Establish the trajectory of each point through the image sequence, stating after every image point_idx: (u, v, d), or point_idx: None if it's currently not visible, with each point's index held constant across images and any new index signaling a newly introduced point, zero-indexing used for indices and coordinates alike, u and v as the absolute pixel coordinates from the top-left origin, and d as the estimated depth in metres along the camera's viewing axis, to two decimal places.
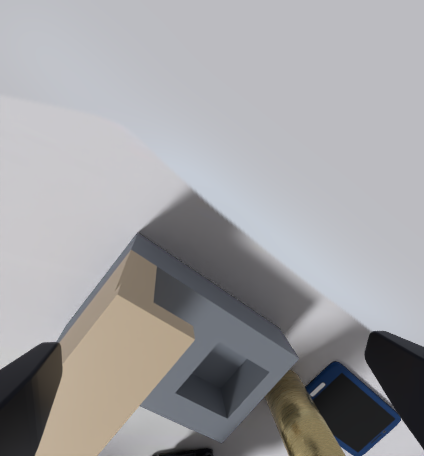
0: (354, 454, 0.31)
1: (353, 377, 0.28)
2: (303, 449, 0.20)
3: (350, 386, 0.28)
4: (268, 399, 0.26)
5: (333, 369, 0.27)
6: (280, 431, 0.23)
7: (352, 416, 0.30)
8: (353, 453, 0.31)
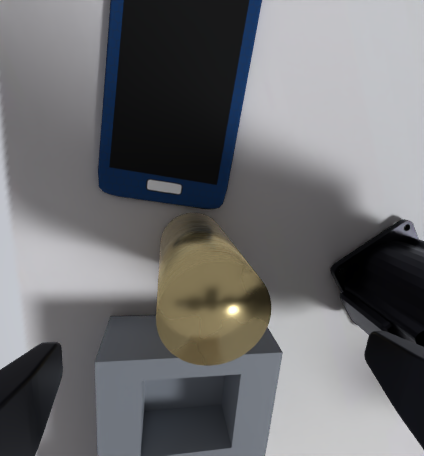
0: None
1: (103, 134, 0.14)
2: None
3: (123, 124, 0.14)
4: None
5: (113, 188, 0.15)
6: None
7: (179, 61, 0.14)
8: None
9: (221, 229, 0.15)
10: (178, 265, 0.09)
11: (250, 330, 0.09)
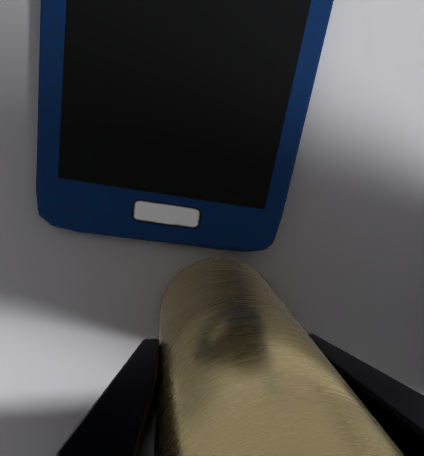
0: None
1: (43, 110, 0.07)
2: None
3: (84, 91, 0.07)
4: None
5: (69, 218, 0.08)
6: None
7: None
8: None
9: None
10: None
11: None
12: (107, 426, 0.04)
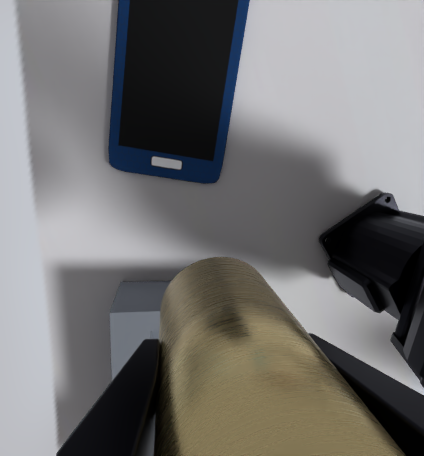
0: None
1: (113, 115, 0.16)
2: None
3: (130, 107, 0.16)
4: None
5: (122, 164, 0.17)
6: None
7: (179, 50, 0.16)
8: None
9: (277, 296, 0.08)
10: None
11: None
12: (107, 426, 0.04)
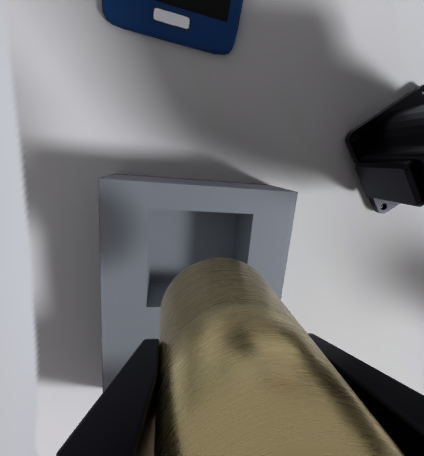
0: None
1: None
2: None
3: None
4: None
5: (118, 14, 0.14)
6: None
7: None
8: None
9: (278, 297, 0.08)
10: None
11: None
12: (107, 426, 0.04)
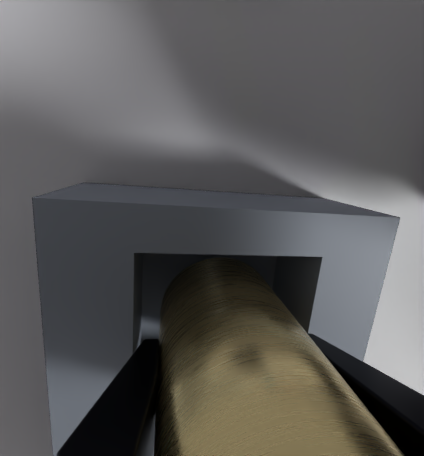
0: None
1: None
2: None
3: None
4: None
5: None
6: None
7: None
8: None
9: (277, 297, 0.08)
10: None
11: None
12: (107, 426, 0.04)
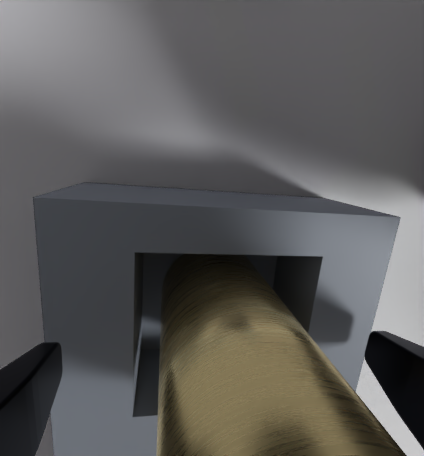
0: None
1: None
2: None
3: None
4: None
5: None
6: None
7: None
8: None
9: (261, 276, 0.09)
10: (210, 453, 0.03)
11: None
12: None
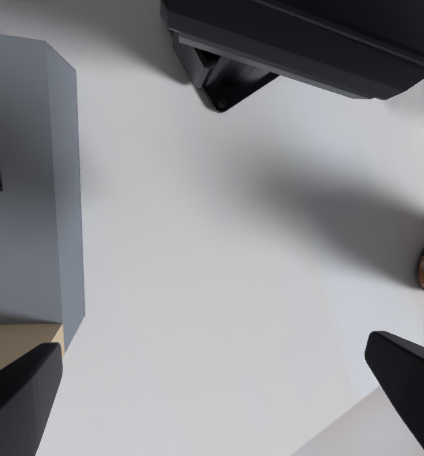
0: None
1: None
2: None
3: None
4: None
5: None
6: None
7: None
8: None
9: None
10: None
11: None
12: None
